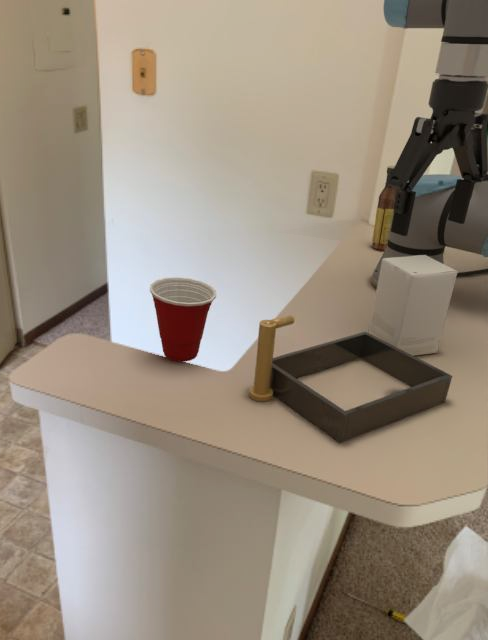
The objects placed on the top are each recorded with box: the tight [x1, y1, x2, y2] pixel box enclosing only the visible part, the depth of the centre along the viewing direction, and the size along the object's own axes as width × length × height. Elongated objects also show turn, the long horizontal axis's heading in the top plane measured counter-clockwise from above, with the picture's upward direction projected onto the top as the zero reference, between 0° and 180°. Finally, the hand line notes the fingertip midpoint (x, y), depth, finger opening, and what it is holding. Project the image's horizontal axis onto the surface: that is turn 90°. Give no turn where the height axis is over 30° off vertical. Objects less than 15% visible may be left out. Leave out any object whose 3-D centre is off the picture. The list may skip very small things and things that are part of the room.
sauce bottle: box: [372, 165, 399, 252], centre depth 152 cm, size 7×6×20 cm
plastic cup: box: [149, 276, 217, 363], centre depth 101 cm, size 11×11×12 cm
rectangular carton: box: [368, 255, 459, 357], centre depth 105 cm, size 9×9×15 cm
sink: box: [248, 314, 453, 444], centre depth 90 cm, size 25×18×12 cm
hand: (428, 227), depth 98 cm, fingers open, 13 cm apart
